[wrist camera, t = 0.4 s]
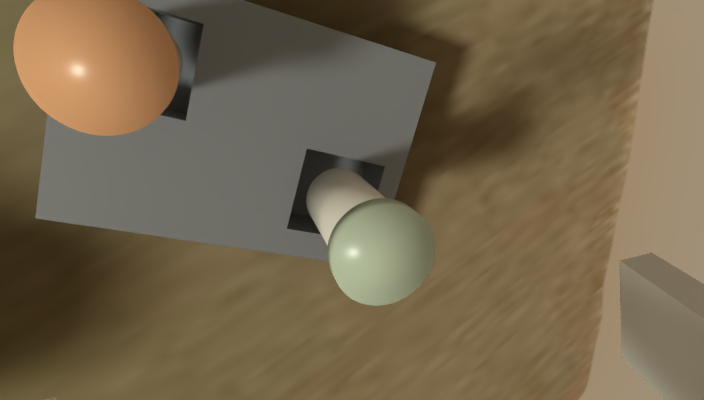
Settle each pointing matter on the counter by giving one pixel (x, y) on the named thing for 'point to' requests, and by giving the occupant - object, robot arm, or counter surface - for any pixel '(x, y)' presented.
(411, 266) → the green capped cylinder
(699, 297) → the robot arm
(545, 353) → the counter surface
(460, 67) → the counter surface
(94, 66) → the orange capped cylinder
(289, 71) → the console
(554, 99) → the counter surface
